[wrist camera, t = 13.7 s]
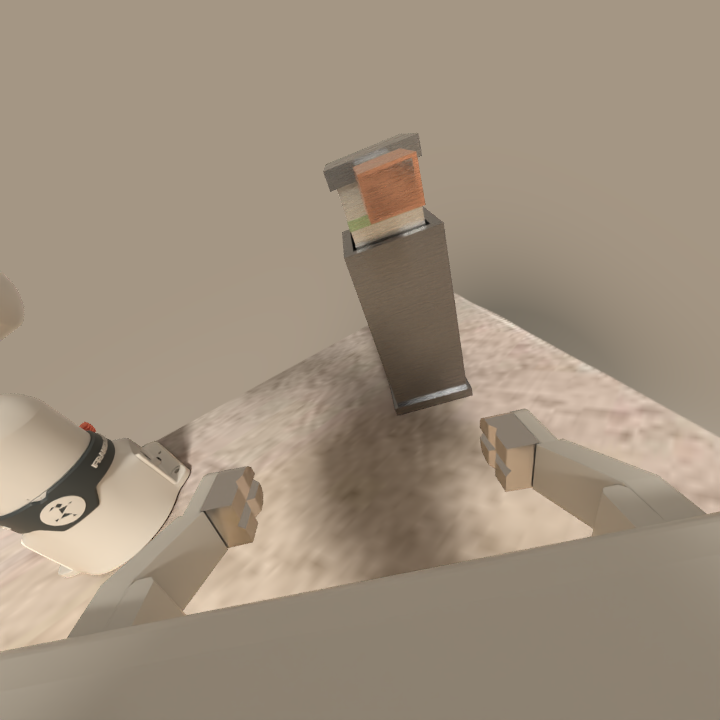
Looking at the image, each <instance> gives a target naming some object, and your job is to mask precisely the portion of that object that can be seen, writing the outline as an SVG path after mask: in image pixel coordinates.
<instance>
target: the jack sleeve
mask: <svg viewBox="0 0 720 720" xmlns="http://www.w3.org/2000/svg"><path fill="white" fill-rule="evenodd" d="M422 208H423V214H424V219H425V225H426V226H423V227H420V228H418V229H415V230H412V231H409V232H406V233H404V234H401V235H398V236H395V237H393V238H390V239H387V240H384V241H381V242H379V243H376V244H373V245H370V246H368V247H365V248H362V249H359V250H357V249H356V246H355V242H354V239H353V236H352V233H351V232H350V229H349V230H347V231H344V232H342V235H343V248H344V259H345V262H346V264H347V267H348V270H349V273H350V276H351V278H352V281H353V284H354V287H355V289H356V292H357V295H358V298H359V300H360V303H361V306H362V308H363V311H364V314H365V317H366V320H367V322H368V325H369V328H370V331H371V333H372V336H373V339H374V342H375V344H376V347H377V350H378V353H379V355H380V358H381V361H382V364H383V366H384V369H385V372H386V375H387V377H388V380H389V384H390V389H391V393H392V398H393V402H394V407H395V410H396V413H397V416H398V415H401V414H405V413H409V412H412V411H416V410H420V409H424V408H427V407H431V406H435V405H438V404H442V403H446V402H449V401H453V400H457V399H460V398H464V397H468V396H472V388H471V386H470V384H469V382H468V380H467V379H466V377H465V371H464V364H463V357H462V350H461V343H460V336H459V329H458V322H457V314H456V307H455V300H454V293H453V286H452V279H451V272H450V265H449V258H448V251H447V244H446V237H445V230H444V223H443V222H442V221H441V220H439V219H438V218H437V217H436V216H435V215H433V214H432V213H431V212H429V211H428V210H427V209H426V208H424V207H423V206H422Z"/></svg>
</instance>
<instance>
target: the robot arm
mask: <svg viewBox="0 0 720 720" xmlns="http://www.w3.org/2000/svg"><path fill="white" fill-rule="evenodd" d="M23 321H24V306H23V302H22V299H21V297H20V294H19V292H18V290H17V289H16V287H15V286H14V284H13V283H12V282H11V281H10V279H9V278H8V277H7V276H5V275H4V273H2V272H1V271H0V341H1V340H3V339H4V338H5V337H6V336H8V335H9V334H10V333H12V332H13V331H14V330H15V329H17V328H18V327H19V326H20V325H21V324H22V323H23ZM480 429H481V430H482V432H483V434H482V436H481V437H480V444H481V449H482V453H483V455H484V457H485V459H486V461H487V463H488V464H489V465H490V466H492V467H493V468H495V476H496V477H497V479H498V481H499V482H500V484H501V485H502V487H503V488H504V490H505V492H508V491H514V490H520V489H526V488H532V487H533V489H534V490H535V491H537V492H538V493H540V494H541V495H543V496H544V497H546V498H547V499H549V500H550V501H552V502H553V503H555V504H556V505H558V506H559V507H561V508H563V509H564V510H566V511H567V512H569V513H570V514H572V515H573V516H575V517H576V518H578V519H579V520H581V521H582V522H584V523H585V524H587V525H588V526H590V527H591V528H593V533H592V537H587V538H582V539H576V540H571V541H566V542H561V543H556V544H551V545H545V546H540V547H535V548H530V549H525V550H520V551H515V552H509V553H504V554H499V555H494V556H489V557H484V558H479V559H474V560H469V561H464V562H458V563H453V564H448V565H443V566H438V567H433V568H428V569H423V570H418V571H412V572H407V573H402V574H397V575H392V576H387V577H382V578H376V579H371V580H366V581H361V582H356V583H351V584H345V585H340V586H335V587H330V588H325V589H320V590H314V591H309V592H304V593H299V594H294V595H289V596H284V597H278V598H273V599H268V600H263V601H258V602H253V603H248V604H242V605H237V606H232V607H227V608H222V609H217V610H212V611H206V612H201V613H196V614H191V615H186V614H185V613H184V612H183V610H184V609H185V607H186V606H187V605H188V603H189V602H190V600H191V599H192V598H193V596H194V595H195V594H196V592H197V591H198V590H199V588H200V587H201V586H202V584H203V583H204V581H205V580H206V579H207V577H208V576H209V575H210V573H211V572H212V571H213V569H214V568H215V567H216V565H217V564H218V562H219V561H220V560H221V558H222V557H223V556H224V554H225V553H226V552H227V550H228V549H227V548H230V547H235V546H239V545H243V544H248V543H252V542H253V541H254V537H255V533H256V529H257V526H258V522H257V520H256V516H257V515H258V514H259V513H260V512H261V510H262V506H263V491H262V487H261V485H260V483H259V482H257V481H255V480H254V479H253V478H254V475H255V473H254V471H253V470H252V468H251V467H249V466H247V467H241V468H236V469H230V470H224V471H221V472H215V473H209V474H206V475H205V476H204V477H203V478H202V480H201V482H200V484H199V486H198V488H197V490H196V491H195V493H194V495H193V497H192V499H191V501H190V503H189V505H188V507H187V509H186V510H185V512H184V514H183V516H180V517H177V518H176V519H175V520H174V521H173V522H172V523H171V524H170V525H168V526H167V527H166V528H165V529H164V530H163V531H162V532H161V533H159V534H158V535H157V536H156V537H155V538H154V539H153V540H152V541H150V540H151V539H152V538H153V537H154V535H155V534H156V533H157V532H158V530H159V529H160V528H161V526H162V525H163V523H164V522H165V520H166V519H167V517H168V515H169V514H170V512H171V510H172V508H173V505H174V503H175V500H176V497H177V495H178V492H179V490H180V488H181V487H182V486H183V484H184V483H185V481H186V479H187V478H188V476H189V474H190V470H189V469H188V468H187V467H186V466H185V465H184V464H183V463H181V462H180V461H179V460H178V459H177V458H176V457H175V456H174V455H173V454H171V453H170V452H169V451H168V450H167V449H166V448H165V447H164V446H163V445H161V444H160V443H158V442H157V441H154V442H151V443H149V444H146V445H145V446H143V447H140V446H139V445H137V444H136V443H135V442H133V441H132V440H130V439H129V438H123V439H118V440H113V441H111V440H109V439H107V438H105V437H104V436H103V435H101V434H98V433H95V432H96V430H95V428H94V427H93V426H92V425H91V424H89V423H86V422H84V423H82V424H81V425H80V426H78V425H76V424H75V423H73V422H72V421H70V420H69V419H68V418H66V417H65V416H63V415H62V414H60V413H59V412H58V411H56V410H54V409H53V408H52V407H50V406H49V405H47V404H46V403H45V402H43V401H41V400H40V399H37V398H34V397H31V396H27V395H22V394H11V393H10V394H0V527H1V528H4V529H8V530H12V531H15V532H17V533H21V534H22V541H21V543H22V545H23V546H25V547H26V548H28V549H30V550H32V551H34V552H36V553H38V554H40V555H42V556H44V557H46V558H48V559H50V560H52V561H54V562H56V563H58V564H60V567H59V571H58V574H59V575H61V576H62V577H64V578H69V577H72V576H75V575H77V574H80V573H86V574H89V575H100V574H104V573H107V572H110V571H112V570H114V569H116V568H118V567H119V566H121V565H122V564H124V563H125V562H127V561H128V560H129V559H130V560H129V561H128V562H127V563H126V564H125V565H123V566H122V567H121V568H120V569H119V570H118V571H117V572H116V573H115V574H113V575H112V576H111V577H110V578H109V579H108V580H107V581H106V582H104V583H103V584H102V585H101V586H100V588H99V589H98V591H97V593H96V594H95V596H94V597H93V599H92V600H91V602H90V603H89V605H88V606H87V608H86V610H85V611H84V613H83V614H82V616H81V617H80V619H79V620H78V622H77V623H76V625H75V626H74V628H73V630H72V631H71V633H70V634H69V636H68V637H67V639H62V640H57V641H52V642H47V643H42V644H36V645H31V646H26V647H21V648H16V649H11V650H6V651H1V652H0V720H720V512H715V513H710V514H706V513H705V512H704V511H702V510H701V509H700V508H699V507H697V506H696V505H695V504H694V503H692V502H691V501H690V500H689V499H687V498H686V497H685V496H684V495H682V494H681V493H680V492H679V491H677V490H676V489H675V488H674V487H672V486H671V485H670V484H669V483H667V482H666V481H665V480H664V479H662V478H661V477H660V476H658V475H656V474H653V473H651V472H648V471H645V470H643V469H640V468H638V467H635V466H632V465H630V464H627V463H625V462H622V461H619V460H617V459H614V458H612V457H609V456H606V455H604V454H601V453H598V452H596V451H593V450H591V449H588V448H585V447H583V446H580V445H578V444H575V443H572V442H570V441H567V440H565V439H560V440H558V439H557V438H556V437H555V436H554V435H553V434H552V433H551V432H550V431H549V430H548V429H547V428H546V427H545V426H544V425H543V424H542V423H541V422H540V421H539V420H538V419H537V418H536V417H535V416H534V415H533V414H532V413H530V412H529V411H528V410H527V409H521V410H516V411H512V412H510V413H504V414H499V415H494V416H490V417H485V418H481V420H480ZM149 541H150V542H149ZM148 542H149V543H148ZM147 543H148V544H147ZM146 544H147V545H146ZM145 545H146V546H145ZM144 546H145V547H144ZM143 547H144V548H143ZM142 548H143V549H142ZM133 556H134V557H133Z"/></svg>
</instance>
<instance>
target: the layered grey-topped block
mask: <svg viewBox="0 0 720 720" xmlns="http://www.w3.org/2000/svg"><path fill="white" fill-rule="evenodd" d="M420 156H422V153H421V147H420V141H419V135H418V133H412V134H411V133H410V134H399V135H397V136H395V137H392V138H389V139H387V140H384V141H382V142H379V143H377V144H374V145H372V146H370V147H367V148H365V149H362V150H360V151H357V152H355V153H353V154H350V155H348V156H345V157H343V158H340V159H338V160H335V161H333V162H330V163H328V164H326V166H325V169H324V175H325V178H326V180H327V183H328V186H329V189H330V191H333V190H336V189H337V191H338V194H339V197H340V200H341V203H342V206H343V209H344V212H345V215H346V218H347V223H348V226H349V229H350V232H351V233H352V236H353V239H354V242H355V246H356V249H357V250H359V249H362V248H365V247H368V246H370V245H373V244H376V243H379V242H381V241H384V240H387V239H390V238H393V237H395V236H398V235H401V234H404V233H406V232H409V231H412V230H415V229H418V228H420V227H423V226H426V225H425V219H424V214H423V208H422V206H423V205H425V200H424V193H423V188H422V182H421V176H420V171H419V165H418V158H417V157H420Z"/></svg>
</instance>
